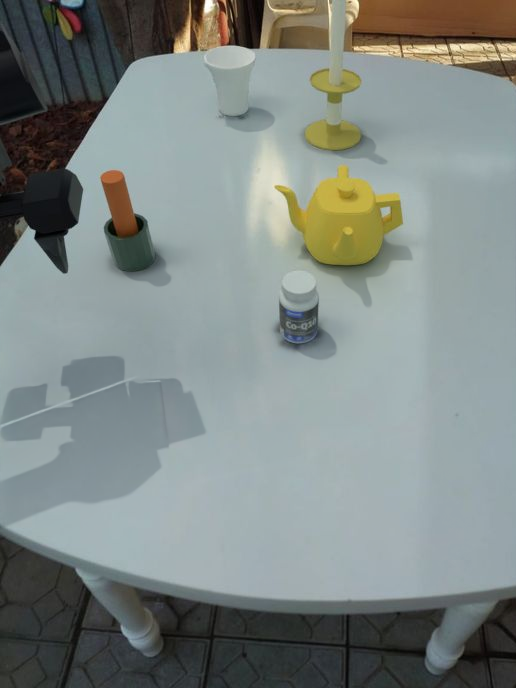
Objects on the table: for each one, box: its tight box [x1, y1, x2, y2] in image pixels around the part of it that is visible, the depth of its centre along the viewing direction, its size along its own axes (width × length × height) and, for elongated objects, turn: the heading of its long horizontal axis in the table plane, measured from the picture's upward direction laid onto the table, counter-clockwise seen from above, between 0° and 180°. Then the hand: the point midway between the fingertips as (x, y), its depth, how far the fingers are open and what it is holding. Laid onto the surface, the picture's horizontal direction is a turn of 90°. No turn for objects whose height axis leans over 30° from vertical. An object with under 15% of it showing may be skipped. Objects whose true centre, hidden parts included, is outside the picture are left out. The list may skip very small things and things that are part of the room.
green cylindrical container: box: [103, 212, 156, 272], centre depth 79 cm, size 6×6×6 cm
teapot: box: [274, 164, 404, 266], centre depth 81 cm, size 14×13×10 cm
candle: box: [304, 0, 362, 151], centre depth 93 cm, size 10×10×27 cm
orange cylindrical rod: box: [99, 169, 139, 237], centre depth 76 cm, size 3×3×12 cm
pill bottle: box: [278, 270, 320, 344], centre depth 70 cm, size 5×5×8 cm
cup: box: [203, 45, 257, 117], centre depth 105 cm, size 9×9×10 cm
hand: (22, 278), depth 60 cm, fingers open, 9 cm apart
